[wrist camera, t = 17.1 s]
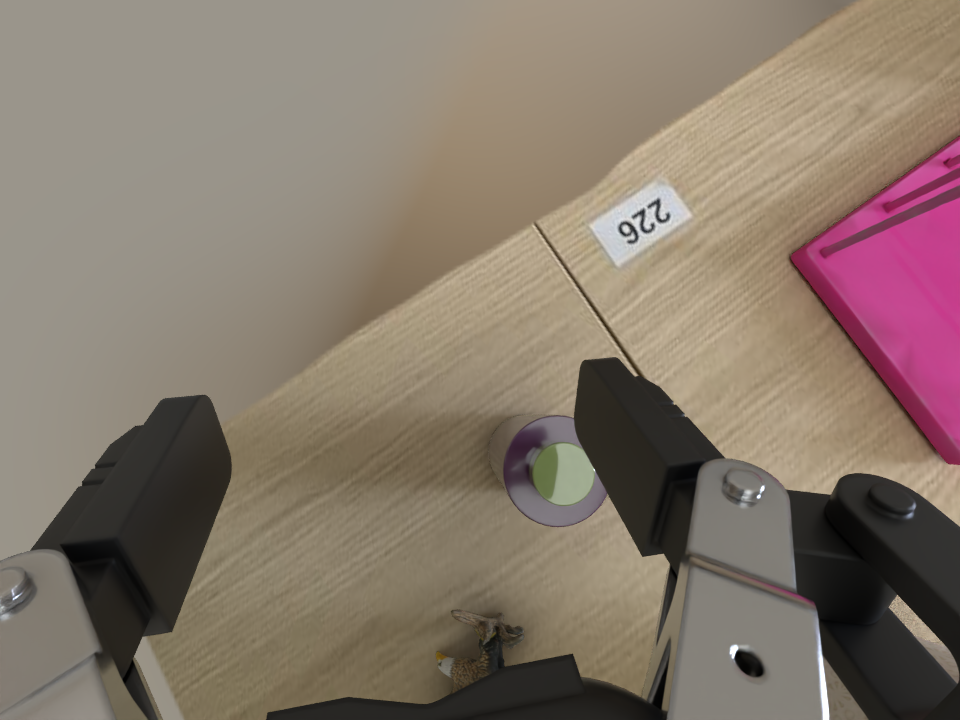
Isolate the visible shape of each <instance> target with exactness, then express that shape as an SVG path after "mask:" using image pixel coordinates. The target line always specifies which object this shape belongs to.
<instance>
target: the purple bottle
mask: <svg viewBox="0 0 960 720" xmlns="http://www.w3.org/2000/svg"><path fill="white" fill-rule="evenodd" d="M488 456H489V462H490V465H491V467H492V470H493V472H494V473H495V475H496V476H497V478H498V480H499V481H500V483H501V484H502V486H503V488H504V489H505V491H506V492H507V494H508V496H509V497H510V499H511V500H512V502H513V503H514V505H515V506H516V507H517V508H518V510H519V511H520V512H522V513H523V514H524V515H525V516H526V517H528V518H529V519H531V520H533V521H535V522H537V523H539V524H542V525H546V526H551V527H566V526H570V525H574V524H577V523H579V522H581V521H583V520H585V519H587V518H588V517H589V516H591V515H592V514H593V513H594V512H595V511H596V510H597V509H598V508H599V507H600V506H601V504H602V503H603V501H604V499H605V498H606V495H607V492H606V490H605V488H604V486H603V484H602V482H601V481H600V479H599V477H598V475H597V473H596V472H595V470H594V468H593V466H592V464H591V462H590V461H589V459H588V457H587V455H586V453H585V452H584V450H583V448H582V446H581V444H580V443H579V440H578V438H577V435H576V431H575V425H574V418H572V417H568V416H560V415H518V416H514V417H511V418H509V419H507V420H505V421H504V422H502V423H501V424H500V425H499V426H498V427H497V428H496V430H495V431H494V433H493V435H492V437H491V439H490V442H489V448H488Z"/></svg>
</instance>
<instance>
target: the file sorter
mask: <svg viewBox="0 0 960 720" xmlns="http://www.w3.org/2000/svg"><path fill="white" fill-rule="evenodd" d="M791 260H792V261H793V263H794V264H795V265H796V266H797V268H798V269H799V270H800V272H801V273H802V274H803V275H804V277H805V278H806V279H807V280H808V282H809V283H810V284H811V286H812V287H813V288H814V290H815V291H816V292H817V294H818V295H819V296H820V297H821V299H822V300H823V301H824V303H825V304H826V305H827V307H828V308H829V309H830V311H831V312H832V313H833V314H834V316H835V317H836V318H837V320H838V321H839V322H840V324H841V325H842V326H843V327H844V329H845V330H846V331H847V333H848V334H849V335H850V337H851V338H852V339H853V341H854V342H855V343H856V344H857V346H858V347H859V348H860V350H861V351H862V352H863V354H864V355H865V356H866V358H867V359H868V360H869V362H870V363H871V364H872V366H873V367H874V368H875V370H876V371H877V372H878V373H879V375H880V376H881V377H882V379H883V380H884V381H885V383H886V384H887V385H888V387H889V388H890V389H891V390H892V392H893V393H894V394H895V396H896V397H897V398H898V400H899V401H900V402H901V404H902V405H903V406H904V408H905V409H906V410H907V411H908V413H909V414H910V415H911V417H912V418H913V419H914V421H915V422H916V423H917V425H918V426H919V427H920V429H921V430H922V431H923V432H924V434H925V435H926V436H927V438H928V439H929V441H930V442H931V443H932V445H933V446H934V447H935V449H936V450H937V451H938V453H939V454H940V455H941V457H942V458H943V459H944V460H945V462H946V463H948V464H954V465H960V136H959V137H957V138H956V139H954V140H953V141H952V142H950V143H949V144H947V145H946V146H945V147H943V148H942V149H940V150H939V151H937V152H936V153H935V154H933V155H932V156H930V157H929V158H928V159H926V160H925V161H923V162H922V163H920V164H919V165H918V166H916V167H915V168H913V169H912V170H911V171H909V172H908V173H906V174H905V175H903V176H902V177H901V178H899V179H898V180H896V181H895V182H894V183H892V184H891V185H889V186H888V187H886V188H885V189H884V190H882V191H881V192H879V193H878V194H877V195H875V196H874V197H872V198H871V199H870V200H868V201H867V202H865V203H864V204H862V205H861V206H860V207H858V208H857V209H855V210H854V211H853V212H851V213H850V214H848V215H847V216H845V217H844V218H843V219H841V220H840V221H838V222H837V223H836V224H834V225H833V226H831V227H830V228H828V229H827V230H826V231H824V232H823V233H821V234H820V235H819V236H817V237H816V238H814V239H813V240H811V241H810V242H808V243H807V244H806V245H804V246H803V247H801V248H800V249H798V250H797V251H796V252H794V253H793V254H792V255H791Z"/></svg>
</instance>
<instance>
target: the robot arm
mask: <svg viewBox="0 0 960 720" xmlns="http://www.w3.org/2000/svg"><path fill="white" fill-rule="evenodd" d="M574 425H575V431H576V435H577V438H578V440H579V443H580V444H581V446H582V448H583V450H584V452H585V453H586V455H587V457H588V459H589V461H590V462H591V464H592V466H593V468H594V470H595V472H596V473H597V475H598V477H599V479H600V481H601V482H602V484H603V486H604V488H605V490H606V492H607V493H608V495H609V497H610V499H611V501H612V502H613V504H614V506H615V508H616V510H617V511H618V513H619V515H620V517H621V519H622V521H623V522H624V524H625V526H626V528H627V530H628V531H629V533H630V535H631V537H632V539H633V540H634V542H635V544H636V546H637V548H638V550H639V551H640V553H641V555H642V557H645V556H651V555H657V554H663V553H664V555H665V556H666V558H667V560H668V561H669V563H670V565H669V568H668V571H667V574H666V580H665V585H664V590H663V596H662V601H661V606H660V612H659V617H658V622H657V627H656V633H655V638H654V643H653V649H652V654H651V659H650V663H649V668H648V672H647V676H646V679H645V683H644V687H643V691H642V696H641V697H640V696H638V695H636V694H634V693H632V692H630V691H628V690H626V689H624V688H621V687H618V686H616V685H613V684H610V683H608V682H604V681H600V680H595V679H591V678H584V677H580V674H579V671H578V668H577V665H576V662H575V659H574V656H573V654H569V655H564V656H559V657H554V658H548V659H543V660H538V661H533V662H528V663H522V664H517V665H512V666H507V667H503V668H501V669H499V670H497V671H495V672H493V673H491V674H489V675H487V676H485V677H483V678H481V679H479V680H477V681H475V682H473V683H471V684H469V685H468V686H466V687H464V688H462V689H460V690H458V691H456V692H454V693H452V694H450V695H448V696H446V697H444V698H442V699H440V700H438V701H436V702H433V703H430V704H414V703H404V702H394V701H383V700H373V699H363V698H353V697H346V698H341V699H336V700H331V701H325V702H320V703H315V704H310V705H305V706H299V707H294V708H289V709H284V710H279V711H274V712H268V713H267V719H266V720H829V711H828V702H827V693H826V684H825V675H824V666H823V657H822V655H823V656H824V658H825V659H826V661H827V662H828V663H829V665H830V666H831V668H832V669H833V670H834V672H835V673H836V675H837V676H838V677H839V679H840V680H841V682H842V683H843V684H844V686H845V687H846V689H847V690H848V691H849V693H850V694H851V696H852V697H853V698H854V700H855V701H856V703H857V704H858V705H859V707H860V708H861V710H862V711H863V712H864V714H865V715H866V717H867V718H868V719H869V720H960V527H959V526H958V525H957V524H956V523H954V522H953V521H952V520H951V519H949V518H948V517H947V516H946V515H945V514H943V513H942V512H941V511H940V510H938V509H937V508H936V507H935V506H933V505H932V504H931V503H930V502H929V501H927V500H926V499H925V498H923V497H922V496H921V495H919V494H918V493H916V492H914V491H913V490H911V489H909V488H907V487H905V486H904V485H901V484H899V483H897V482H895V481H892V480H889V479H886V478H883V477H880V476H876V475H871V474H862V473H854V474H848V475H845V476H843V477H842V478H840V479H839V481H838V483H837V485H836V486H835V488H834V490H833V492H832V494H831V495H827V494H818V493H810V492H801V491H793V490H786V489H785V488H784V487H783V485H782V484H781V483H780V482H779V481H778V480H777V479H776V478H775V477H773V476H772V475H771V474H769V473H768V472H766V471H765V470H763V469H761V468H759V467H757V466H755V465H752V464H750V463H747V462H744V461H740V460H735V459H726V458H725V457H724V456H723V455H722V454H721V453H720V452H719V451H718V450H717V449H716V448H715V447H714V445H713V444H712V443H711V442H710V441H709V440H708V439H707V438H706V437H705V436H704V435H703V433H702V432H701V431H700V430H699V429H698V428H697V427H696V426H695V425H694V424H693V423H692V421H691V420H690V419H689V418H688V417H685V416H684V413H683V412H682V411H681V410H680V408H679V407H678V406H677V405H674V404H673V401H672V400H671V399H670V398H669V396H668V395H667V394H666V393H665V392H664V391H663V390H662V389H661V388H660V387H659V386H657V385H655V384H653V383H652V382H650V381H648V380H646V379H645V378H643V377H641V376H636V377H634V376H633V375H632V373H631V372H630V371H629V370H628V369H627V368H626V366H625V365H624V364H623V363H622V362H621V361H620V360H619V359H618V358H616V357H612V358H601V359H591V360H584V361H583V362H582V364H581V366H580V371H579V379H578V387H577V396H576V404H575V412H574ZM231 471H232V463H231V455H230V452H229V449H228V446H227V443H226V440H225V437H224V434H223V432H222V429H221V426H220V423H219V420H218V417H217V415H216V412H215V409H214V406H213V403H212V402H211V400H210V398H209V397H208V396H206V395H196V396H186V397H175V398H165V399H163V400H161V401H160V402H159V403H158V405H157V406H156V408H155V409H154V411H153V412H152V414H151V415H150V416H149V418H148V419H147V421H146V422H145V423H144V425H141V426H135V427H133V428H132V429H131V430H130V431H128V432H127V433H125V434H124V435H123V436H121V437H120V438H119V439H117V440H116V441H115V442H113V443H112V444H111V445H110V446H109V447H108V448H107V450H106V451H105V453H104V454H103V455H102V456H101V458H100V459H99V460H98V462H97V463H96V464H95V469H92V470H91V471H90V472H89V474H88V475H87V476H86V478H85V479H84V480H83V481H82V486H80V487H78V488H77V489H76V491H75V492H74V493H73V495H72V496H71V497H70V499H69V500H68V501H67V503H66V504H65V505H64V507H63V508H62V509H61V511H60V512H59V513H58V515H57V516H56V517H55V518H54V520H53V521H52V522H51V524H50V525H49V526H48V528H47V529H46V530H45V532H44V533H43V534H42V536H41V537H40V538H39V540H38V541H37V542H36V544H35V545H34V546H33V547H32V549H31V550H30V551H27V552H24V553H20V554H17V555H14V556H11V557H8V558H6V559H4V560H1V561H0V720H163V719H162V717H161V714H160V712H159V709H158V707H157V705H156V702H155V700H154V698H153V696H152V693H151V691H150V689H149V687H148V684H147V682H146V679H145V677H144V675H143V673H142V670H141V668H140V666H139V664H138V662H137V660H136V659H135V658H134V655H135V653H136V650H137V648H138V646H139V644H140V641H141V639H142V637H144V636H150V635H156V634H162V633H168V632H172V630H173V628H174V625H175V623H176V620H177V617H178V615H179V612H180V610H181V607H182V605H183V602H184V599H185V597H186V594H187V592H188V589H189V586H190V584H191V581H192V579H193V576H194V573H195V571H196V568H197V566H198V563H199V560H200V558H201V555H202V553H203V550H204V547H205V545H206V542H207V540H208V537H209V534H210V532H211V529H212V527H213V524H214V522H215V519H216V516H217V514H218V511H219V509H220V506H221V503H222V501H223V498H224V496H225V493H226V490H227V488H228V485H229V482H230V479H231ZM897 595H898V596H899V597H900V598H901V599H902V600H903V601H904V602H905V603H906V604H907V605H908V606H909V607H910V608H911V609H912V610H913V611H914V613H915V614H916V615H917V616H918V617H919V618H920V619H921V620H922V621H923V622H924V623H925V624H926V625H927V626H928V627H929V628H930V629H931V631H932V632H933V633H934V634H935V635H936V636H937V637H938V638H939V639H940V640H941V641H942V642H943V643H944V645H945V646H946V647H947V648H948V650H949V651H950V652H951V654H952V656H953V657H954V659H955V662H956V664H957V667H958V671H959V681H958V684H957V683H956V682H955V681H954V679H953V678H952V677H951V676H950V675H949V674H948V673H947V672H946V671H945V669H944V668H943V667H942V666H941V665H940V664H939V663H938V662H937V661H936V659H935V658H934V657H933V656H932V655H931V654H930V653H929V652H928V651H927V650H926V648H925V647H924V646H923V645H922V644H921V643H920V642H919V641H918V640H917V638H916V637H915V636H914V635H913V634H912V633H911V632H910V631H909V630H908V629H907V627H906V626H905V625H904V624H903V623H902V622H901V621H900V620H899V619H898V617H897V616H896V615H895V614H894V613H893V612H892V611H891V610H890V609H889V605H890V604H891V603H892V601H893V600H894V599H895V597H896V596H897Z"/></svg>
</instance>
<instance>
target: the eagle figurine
mask: <svg viewBox="0 0 960 720" xmlns="http://www.w3.org/2000/svg"><path fill="white" fill-rule="evenodd" d="M451 615H452V616H453V617H454V618H455V619H457V620H459V621H461V622H464V623H466V624H471V625H472V626H473V627H474V628H475V631H476V633H477V634H478V636H479V637H480V639H479V648H480V655H479V657H478V660H474V659H469V658H450V657H447V656H444V655H442V654H440V652H439V651H437V653H436V658H437V661H438V668H439V669H440V670H441V671H442V672H443V673H444V674H446V675H447V676H449V677H450V678H452V679H453V680H454V687H453V690H452V692H451V694H452V693H454V692H456V691H458V690H460V689H462V688H464V687H466V686H468V685H469V684H471V683H473V682H475V681H477V680H479V679H481V678H483V677H485V676H487V675H489V674H491V673H493V672H495V671H497V670H499V669H501V668H503V667H505V666H504V659H503V655H502V645H503V644H504V645H505V646H506V647H507V648H509V649H511V648H513V646H514V645H516V644H518V643H520V642H521V641H522V640H523V639H524V635H523V634H521V633H523V632H524V630H523V628H522V627H520V626H517V627H511V626H510V625H506V624H504V623H503V620H504V615H503V614H502V613H499V614H498V616H497V617H494V618H493V617H492V618H486V617H483V616H481V615H478V614H473V613H470V612H466V611H462V610H452V611H451ZM508 633H511V634H515V635H518V634H521V635H518V636H516V637H512V636H511V635H509V634H508Z"/></svg>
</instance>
